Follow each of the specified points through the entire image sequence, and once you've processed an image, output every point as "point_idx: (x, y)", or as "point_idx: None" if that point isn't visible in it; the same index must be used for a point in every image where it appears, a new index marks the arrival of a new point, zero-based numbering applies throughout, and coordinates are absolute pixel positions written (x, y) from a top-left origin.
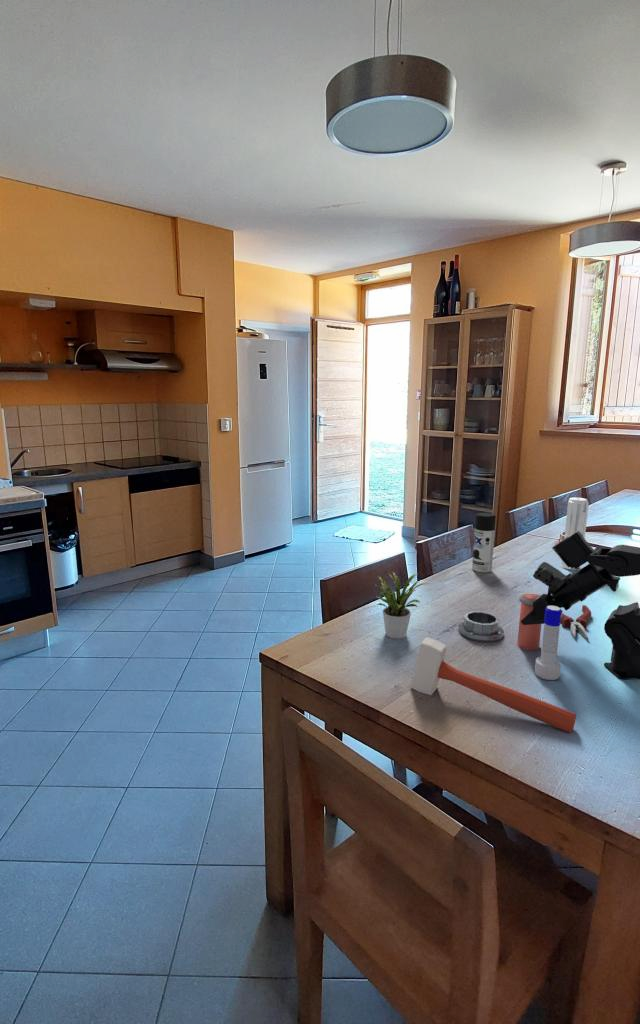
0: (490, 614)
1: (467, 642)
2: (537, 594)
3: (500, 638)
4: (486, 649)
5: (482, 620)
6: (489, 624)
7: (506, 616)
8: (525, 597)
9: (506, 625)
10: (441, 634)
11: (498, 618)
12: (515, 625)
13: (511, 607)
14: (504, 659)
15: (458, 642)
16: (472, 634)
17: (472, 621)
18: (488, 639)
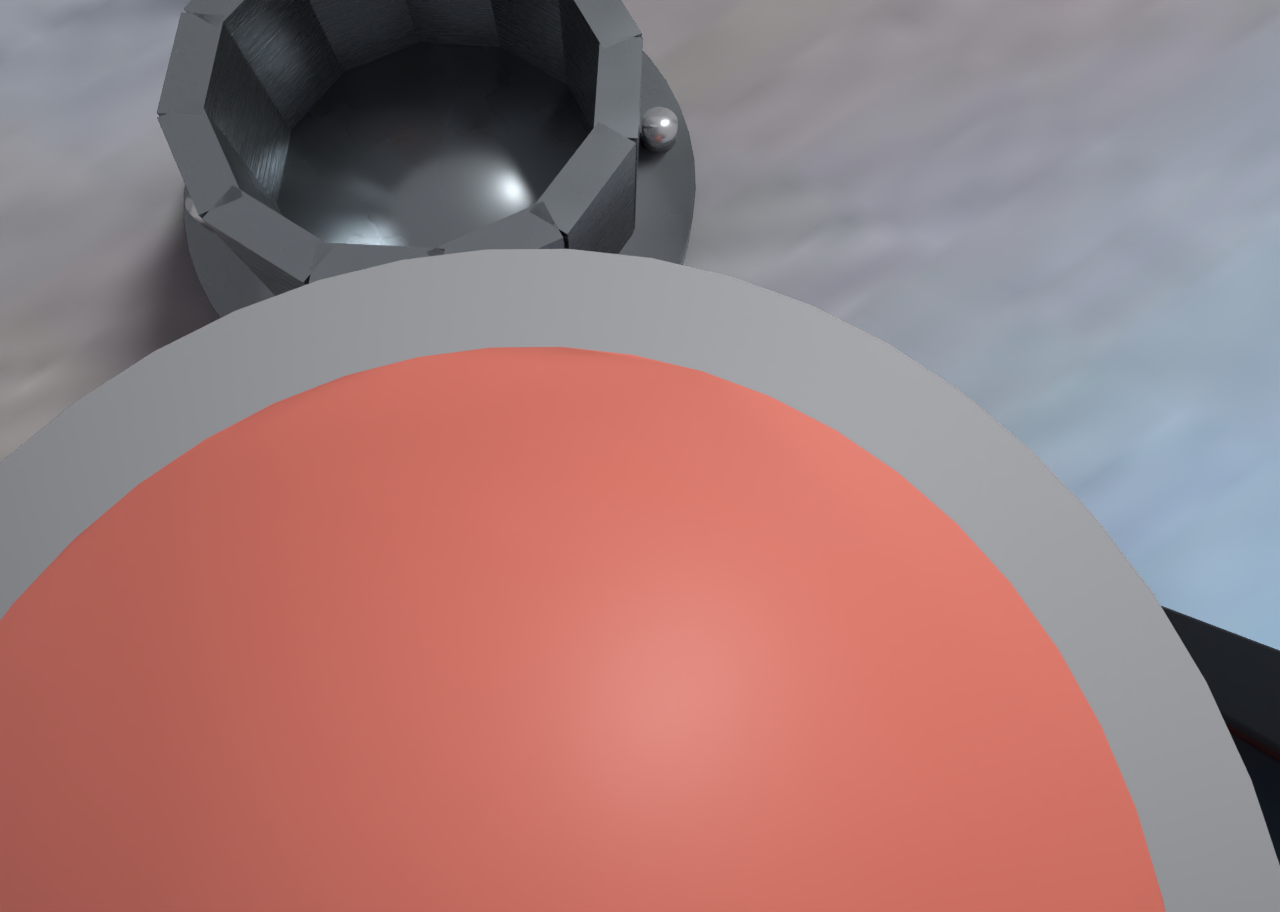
0: (602, 74)
1: (121, 272)
2: (1179, 836)
3: None
4: None
5: (576, 76)
6: (282, 260)
7: (1038, 116)
8: (119, 724)
9: (845, 249)
10: (92, 24)
11: (580, 207)
12: (935, 303)
13: (1274, 15)
14: None
15: (49, 222)
16: (197, 222)
17: (195, 79)
18: None
